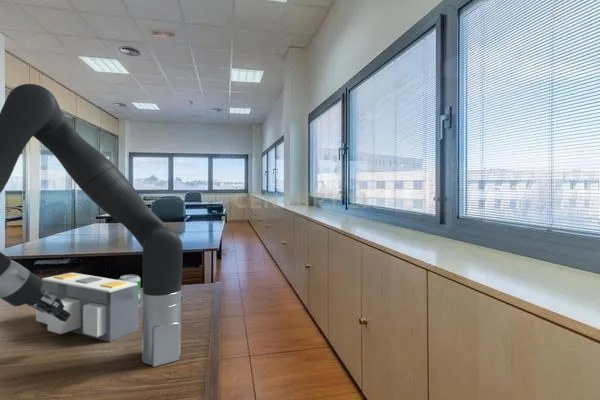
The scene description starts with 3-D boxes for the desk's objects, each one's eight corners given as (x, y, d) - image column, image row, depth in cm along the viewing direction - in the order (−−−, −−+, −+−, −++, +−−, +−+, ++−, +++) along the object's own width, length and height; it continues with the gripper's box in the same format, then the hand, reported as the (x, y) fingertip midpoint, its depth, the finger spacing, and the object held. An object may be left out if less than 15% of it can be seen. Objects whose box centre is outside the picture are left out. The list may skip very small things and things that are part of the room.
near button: (97, 337, 95) (97, 308, 95) (83, 333, 97) (83, 305, 97) (125, 325, 103) (125, 299, 103) (111, 322, 105) (111, 296, 105)
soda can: (133, 313, 120) (134, 279, 119) (112, 312, 120) (113, 278, 120) (144, 306, 127) (144, 274, 127) (124, 305, 127) (124, 273, 127)
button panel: (110, 342, 96) (110, 289, 96) (40, 323, 109) (41, 277, 109) (138, 330, 105) (138, 282, 105) (70, 314, 118) (71, 271, 118)
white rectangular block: (48, 323, 104) (48, 297, 103) (35, 320, 106) (36, 295, 106) (77, 314, 112) (77, 290, 112) (65, 311, 114) (65, 288, 114)
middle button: (60, 334, 96) (60, 305, 96) (47, 330, 99) (47, 302, 99) (91, 323, 105) (91, 297, 105) (78, 320, 107) (78, 294, 107)
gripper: (42, 271, 78) (92, 308, 90) (9, 265, 84) (61, 301, 95) (15, 300, 74) (72, 336, 85) (-18, 292, 79) (40, 327, 90)
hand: (66, 317), depth 90 cm, fingers closed
